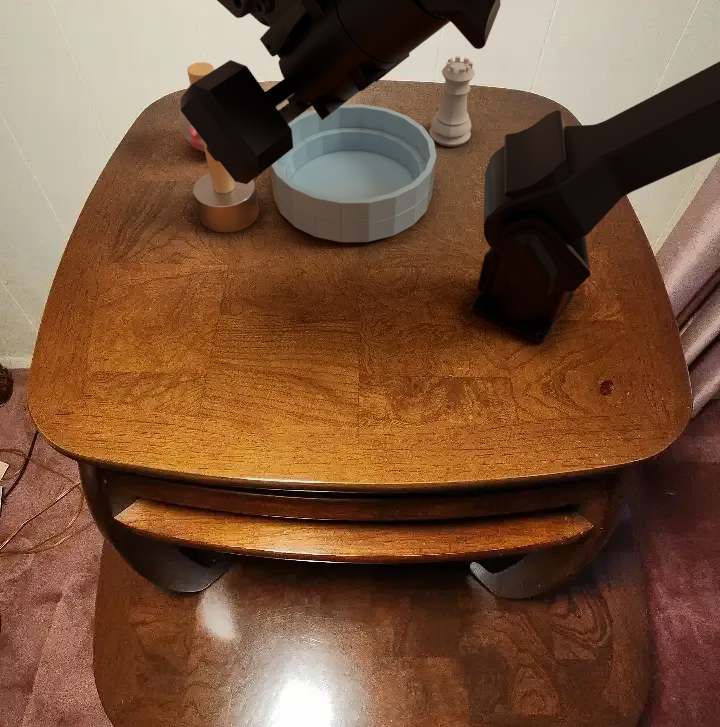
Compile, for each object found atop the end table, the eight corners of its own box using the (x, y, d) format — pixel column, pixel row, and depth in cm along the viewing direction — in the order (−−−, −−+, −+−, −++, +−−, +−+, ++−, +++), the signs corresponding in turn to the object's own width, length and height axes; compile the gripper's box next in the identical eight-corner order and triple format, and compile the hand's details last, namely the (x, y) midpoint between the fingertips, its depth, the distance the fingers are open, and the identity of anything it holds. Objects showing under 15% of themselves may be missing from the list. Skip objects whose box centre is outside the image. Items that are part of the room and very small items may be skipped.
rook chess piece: (469, 150, 65) (481, 76, 59) (426, 146, 65) (434, 72, 59) (471, 126, 68) (483, 53, 61) (430, 123, 68) (438, 49, 62)
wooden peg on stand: (271, 208, 59) (251, 63, 48) (232, 240, 56) (202, 95, 45) (227, 187, 61) (198, 43, 50) (187, 217, 58) (147, 72, 47)
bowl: (458, 182, 62) (465, 137, 58) (374, 270, 54) (376, 226, 50) (334, 132, 67) (333, 87, 63) (242, 206, 59) (234, 161, 55)
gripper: (382, -166, 38) (262, -15, 50) (164, -73, 29) (83, 84, 41) (476, 4, 42) (343, 106, 54) (310, 136, 32) (195, 222, 45)
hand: (252, 125), depth 48 cm, fingers open, 9 cm apart
